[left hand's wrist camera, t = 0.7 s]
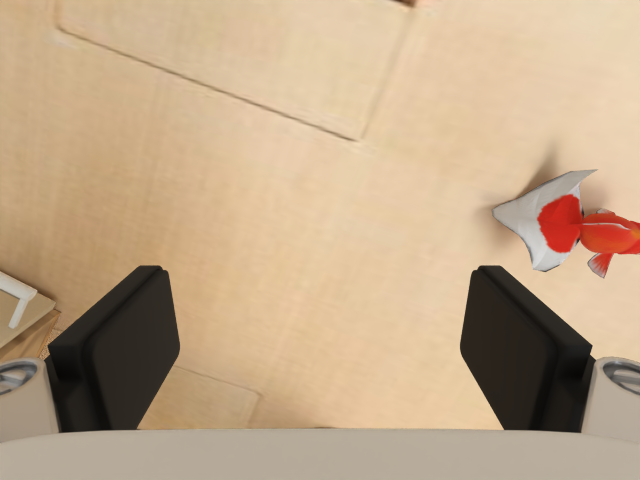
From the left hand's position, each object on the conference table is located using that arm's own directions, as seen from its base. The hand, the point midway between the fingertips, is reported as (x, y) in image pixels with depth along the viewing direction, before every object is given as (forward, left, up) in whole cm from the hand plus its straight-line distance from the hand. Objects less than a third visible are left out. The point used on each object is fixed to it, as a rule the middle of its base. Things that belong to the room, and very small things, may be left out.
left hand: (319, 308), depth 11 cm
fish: (-5, -27, -30) cm, 41 cm away
